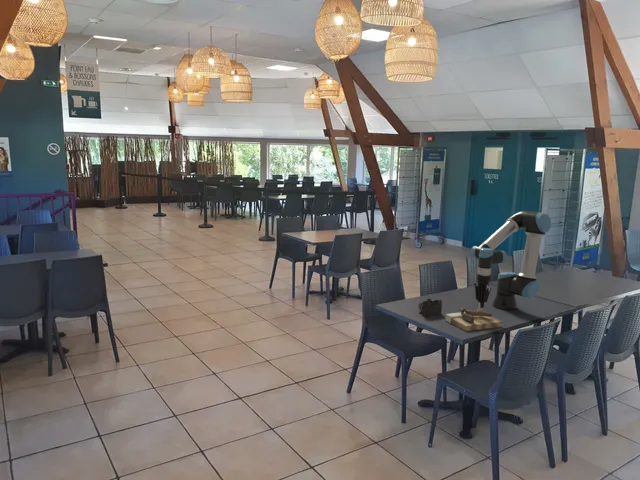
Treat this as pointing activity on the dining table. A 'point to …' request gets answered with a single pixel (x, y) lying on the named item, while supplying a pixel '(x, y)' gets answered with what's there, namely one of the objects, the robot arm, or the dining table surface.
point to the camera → (430, 307)
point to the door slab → (476, 323)
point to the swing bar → (476, 312)
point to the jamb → (454, 316)
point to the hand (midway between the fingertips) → (479, 312)
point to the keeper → (468, 318)
